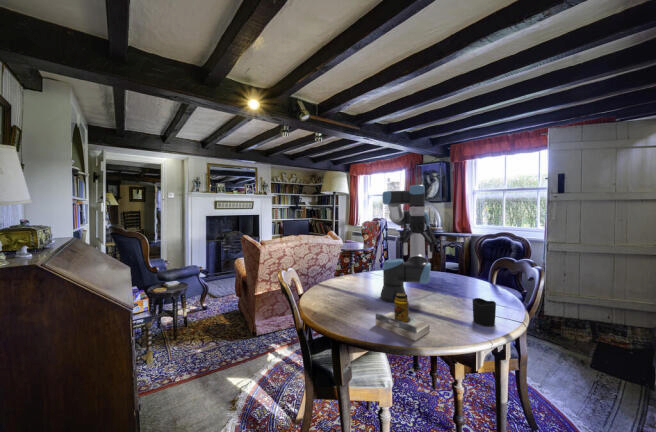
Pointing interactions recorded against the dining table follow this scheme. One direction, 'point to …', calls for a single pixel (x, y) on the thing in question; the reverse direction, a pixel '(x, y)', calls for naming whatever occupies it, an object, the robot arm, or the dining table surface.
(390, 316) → the cream flat block
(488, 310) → the pen holder
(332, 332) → the dining table surface
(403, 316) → the condiment
